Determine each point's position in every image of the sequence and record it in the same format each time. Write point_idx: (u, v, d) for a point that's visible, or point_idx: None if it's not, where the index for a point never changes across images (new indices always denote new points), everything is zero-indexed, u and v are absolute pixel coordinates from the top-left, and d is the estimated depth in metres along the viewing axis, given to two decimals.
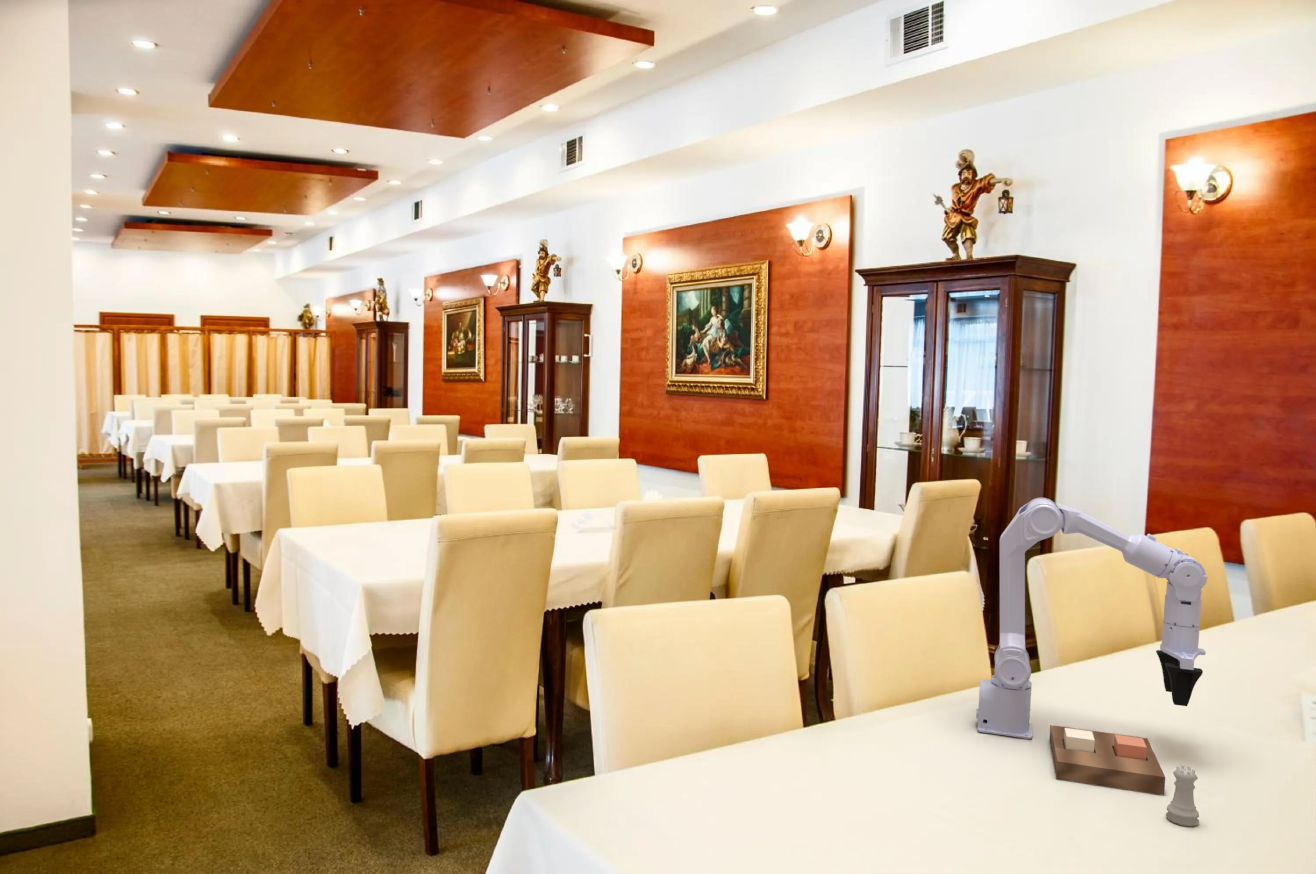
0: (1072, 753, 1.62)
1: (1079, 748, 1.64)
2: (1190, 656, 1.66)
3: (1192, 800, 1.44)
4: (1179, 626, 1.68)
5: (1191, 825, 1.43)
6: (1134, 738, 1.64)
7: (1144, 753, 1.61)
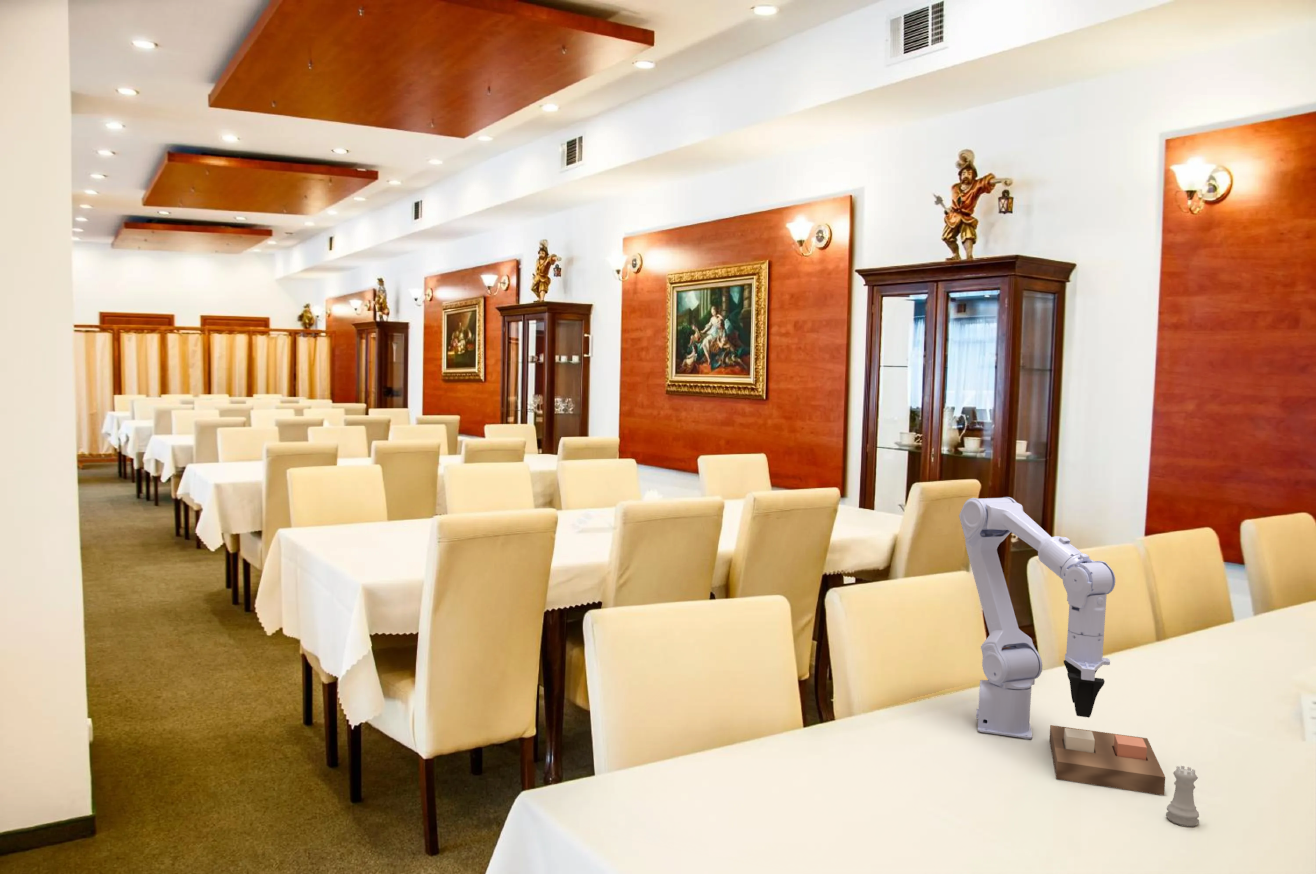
0: (1072, 753, 1.62)
1: (1079, 748, 1.64)
2: (1092, 666, 1.60)
3: (1192, 800, 1.44)
4: (1082, 635, 1.62)
5: (1191, 825, 1.43)
6: (1134, 738, 1.64)
7: (1144, 753, 1.61)
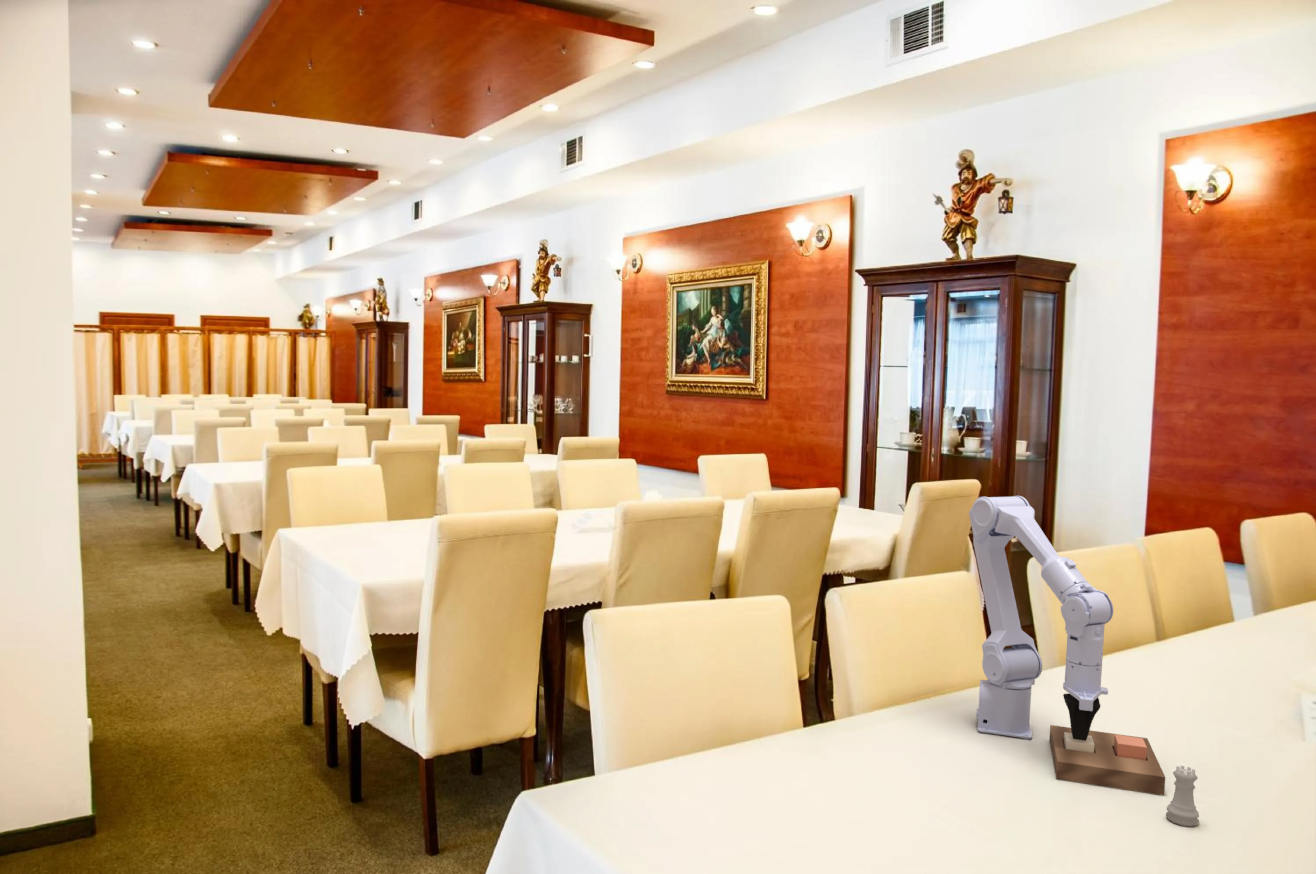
0: (1072, 753, 1.62)
1: None
2: (1090, 696, 1.60)
3: (1192, 800, 1.44)
4: (1080, 665, 1.63)
5: (1191, 825, 1.43)
6: (1134, 738, 1.64)
7: (1144, 753, 1.61)
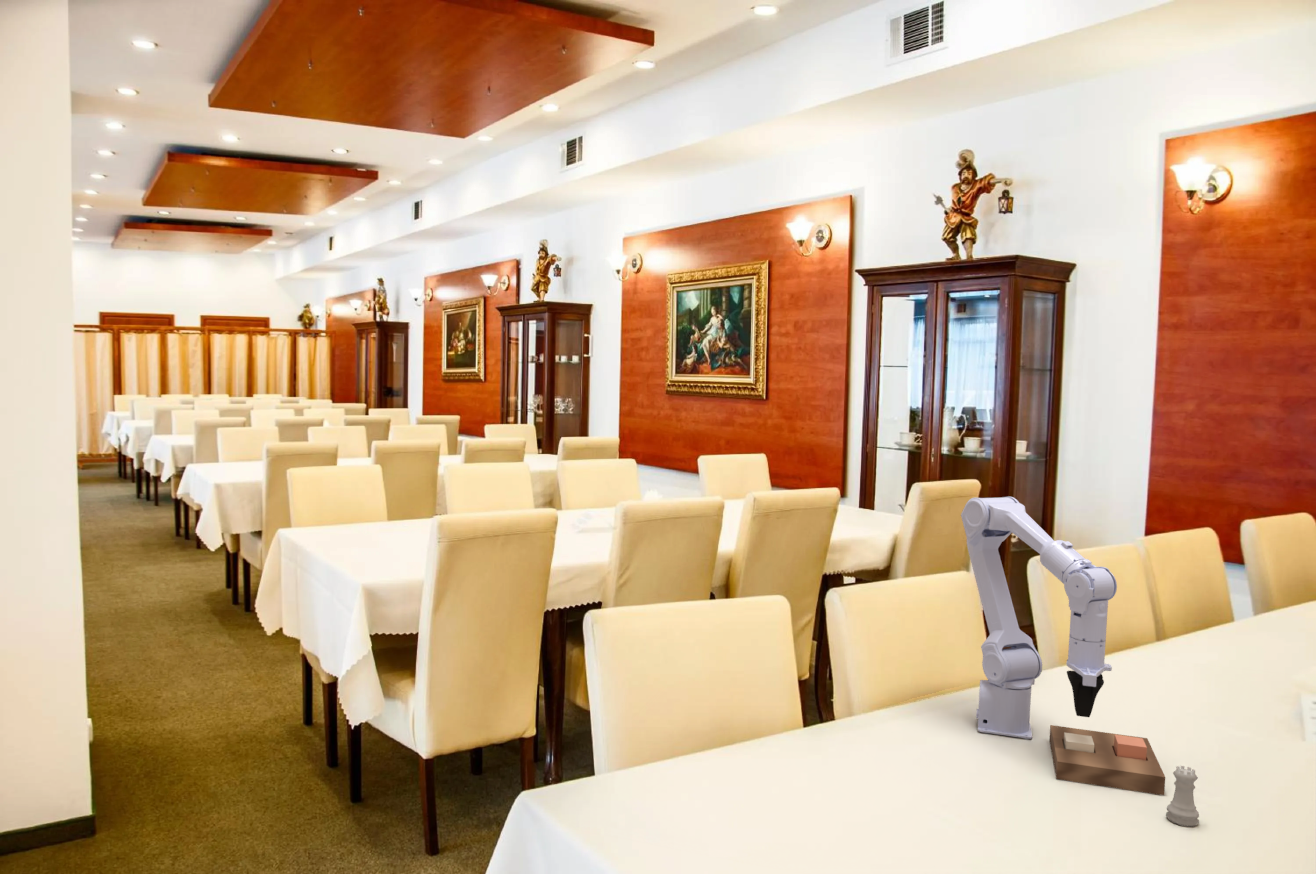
0: (1072, 753, 1.62)
1: None
2: (1094, 672, 1.60)
3: (1192, 800, 1.44)
4: (1084, 641, 1.62)
5: (1191, 825, 1.43)
6: (1134, 738, 1.64)
7: (1144, 753, 1.61)
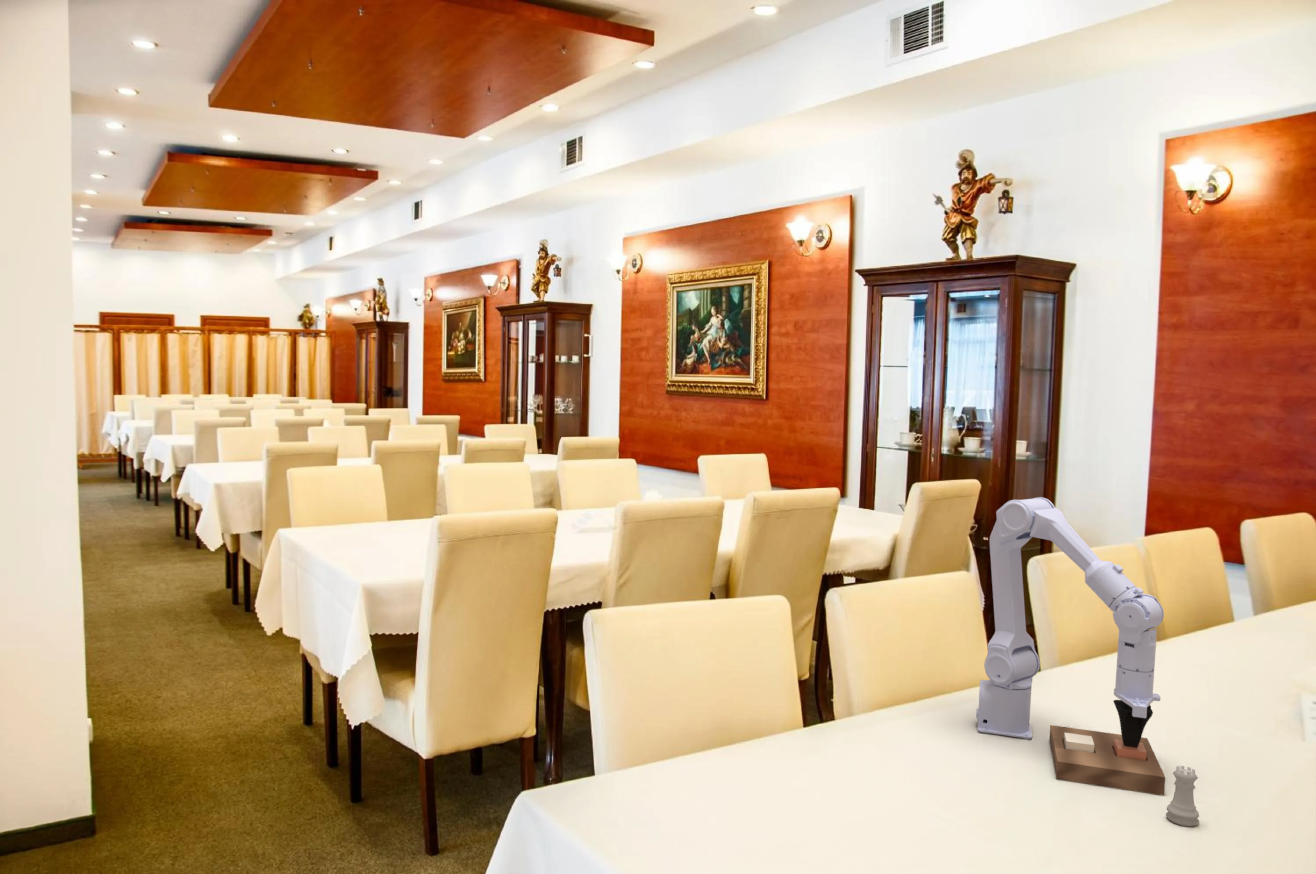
0: (1072, 753, 1.62)
1: None
2: (1143, 703, 1.58)
3: (1192, 800, 1.44)
4: (1132, 671, 1.60)
5: (1191, 825, 1.43)
6: None
7: (1144, 758, 1.61)
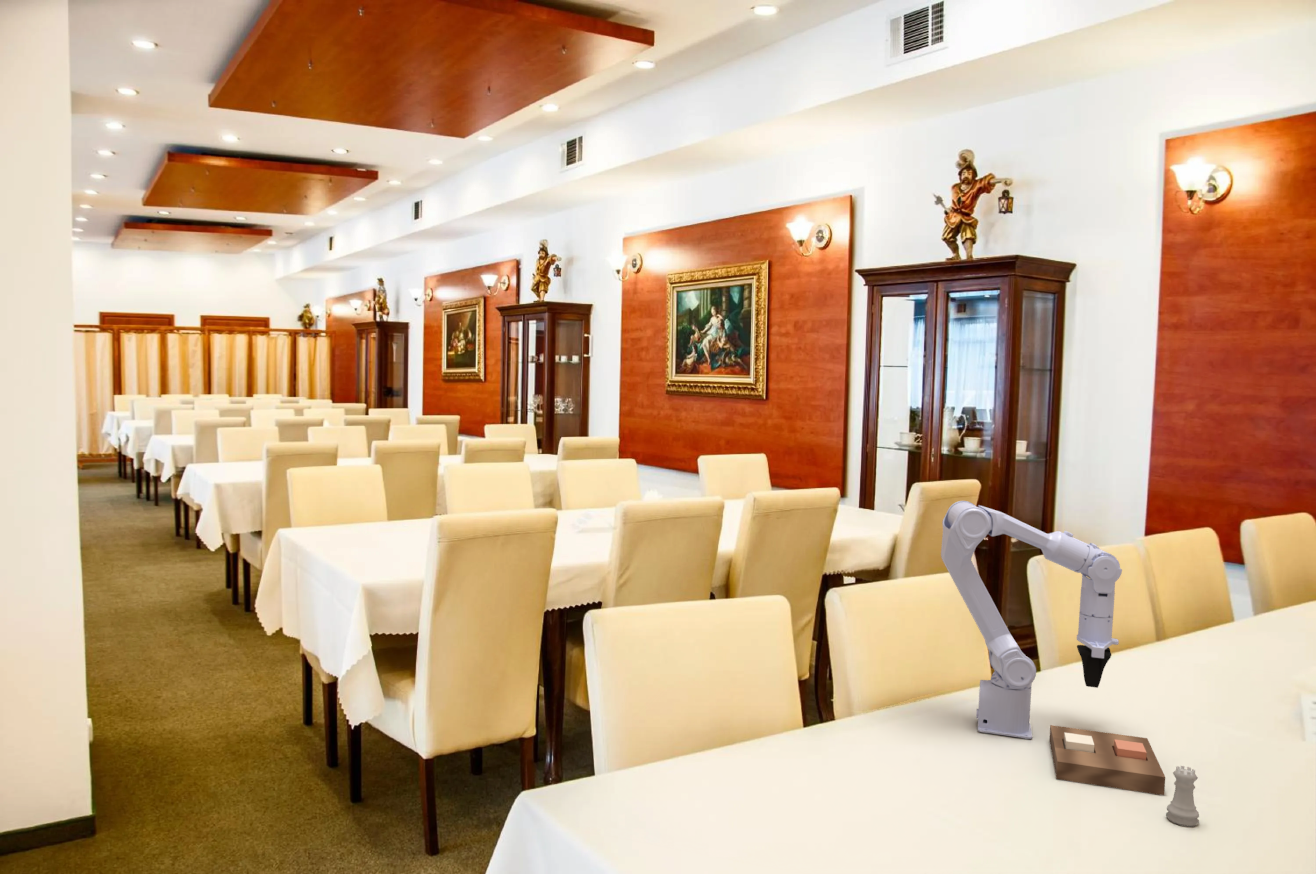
0: (1072, 753, 1.62)
1: None
2: (1102, 645, 1.74)
3: (1192, 800, 1.44)
4: (1093, 617, 1.76)
5: (1191, 825, 1.43)
6: (1134, 743, 1.64)
7: (1144, 758, 1.61)
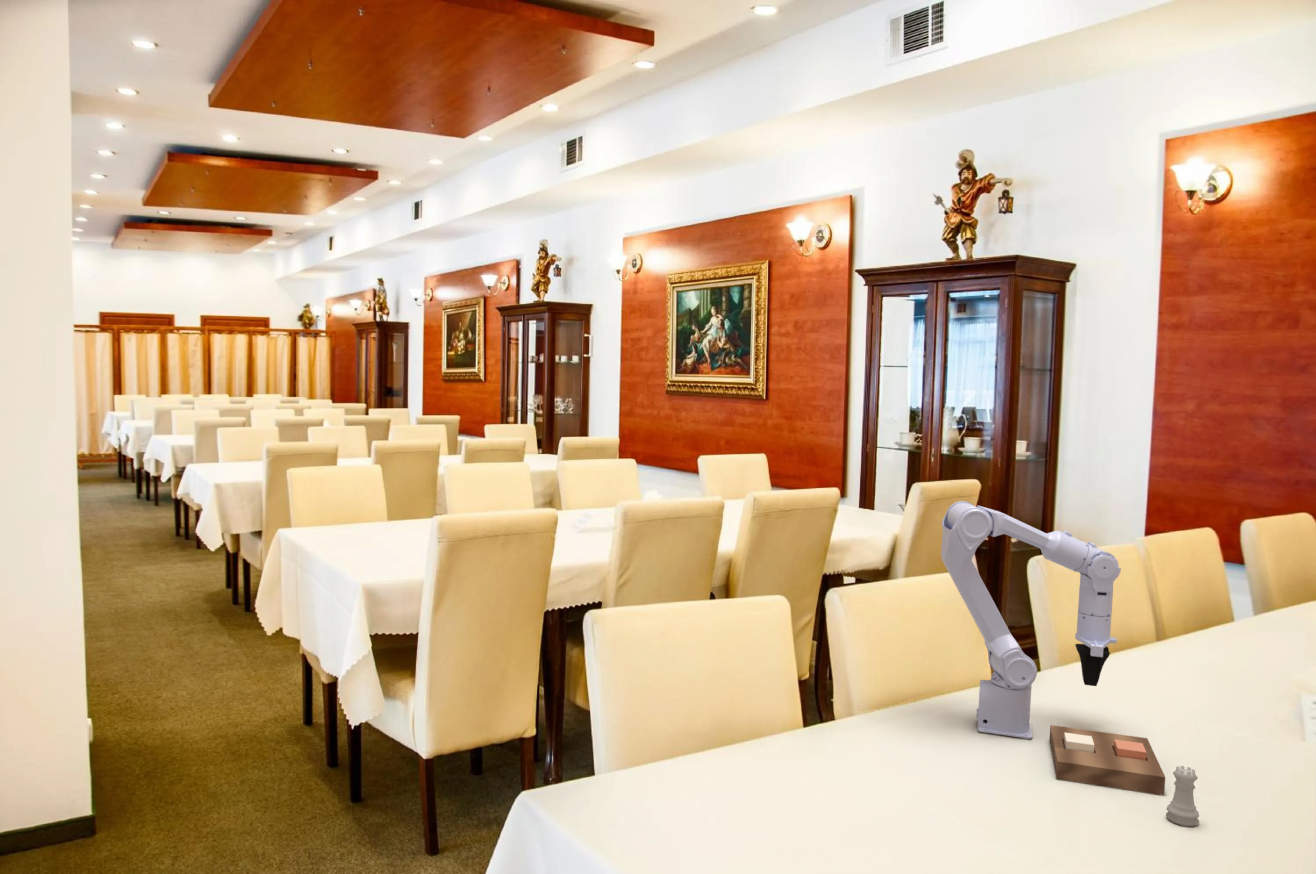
0: (1072, 753, 1.62)
1: None
2: (1101, 644, 1.74)
3: (1192, 800, 1.44)
4: (1091, 616, 1.76)
5: (1191, 825, 1.43)
6: (1134, 743, 1.64)
7: (1144, 758, 1.61)
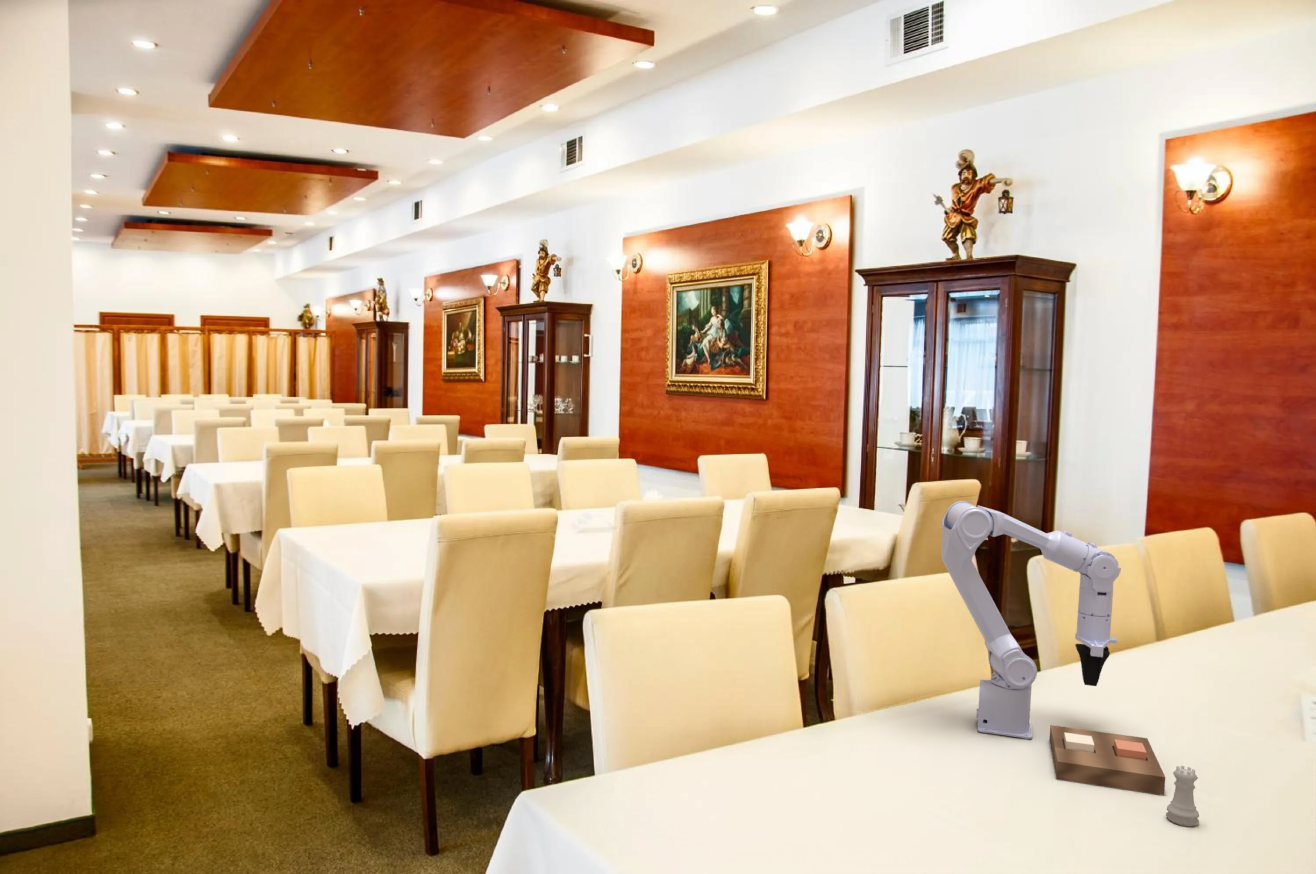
0: (1072, 753, 1.62)
1: None
2: (1101, 644, 1.74)
3: (1192, 800, 1.44)
4: (1091, 616, 1.76)
5: (1191, 825, 1.43)
6: (1134, 743, 1.64)
7: (1144, 758, 1.61)
